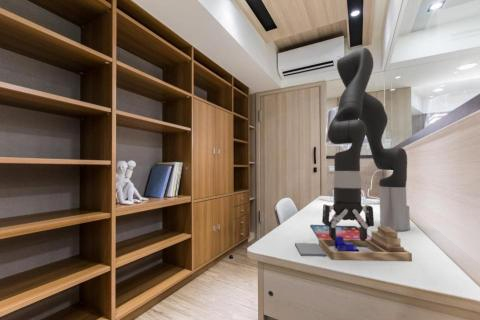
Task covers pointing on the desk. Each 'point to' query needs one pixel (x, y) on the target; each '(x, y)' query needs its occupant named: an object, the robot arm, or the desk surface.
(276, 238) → the desk surface
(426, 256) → the desk surface
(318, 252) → the felt pad
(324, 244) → the rack
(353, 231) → the tablet
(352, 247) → the cable holder
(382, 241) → the offcut stack
